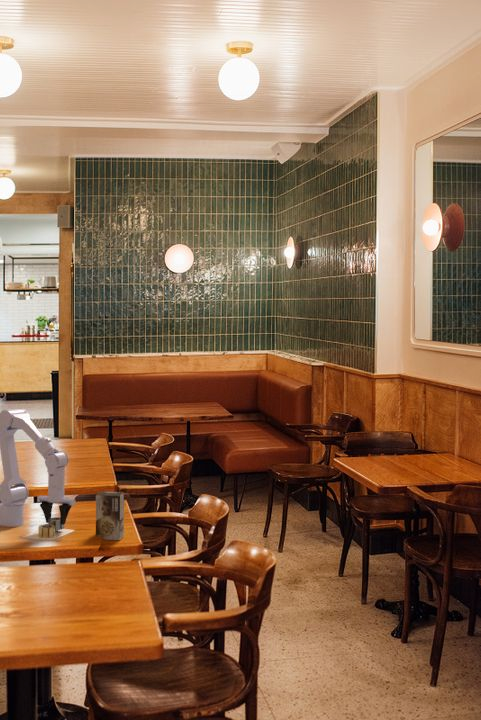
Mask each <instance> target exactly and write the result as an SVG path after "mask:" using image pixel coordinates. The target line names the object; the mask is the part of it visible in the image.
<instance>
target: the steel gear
mask: <svg viewBox="0 0 481 720" xmlns="http://www.w3.org/2000/svg"><path fill="white" fill-rule="evenodd" d="M47 524H51V525H55V530H60V529H61V530H62V529H65V524H63V525H61V523H60V516H51V518H49V519H48V523H47Z"/></svg>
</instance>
